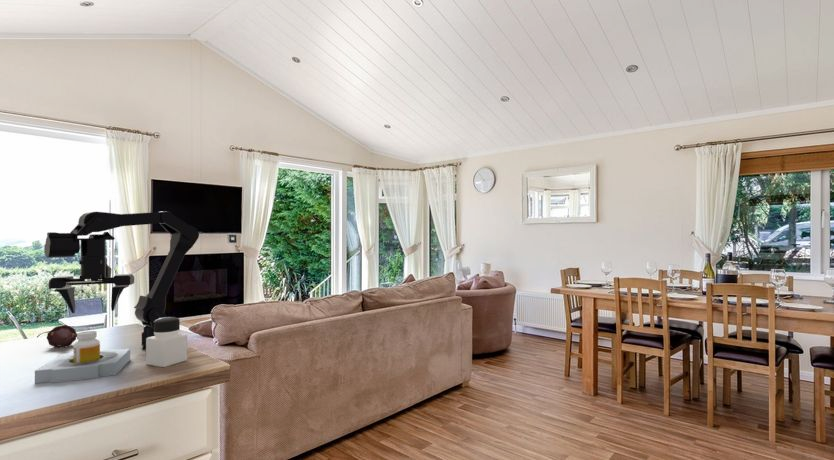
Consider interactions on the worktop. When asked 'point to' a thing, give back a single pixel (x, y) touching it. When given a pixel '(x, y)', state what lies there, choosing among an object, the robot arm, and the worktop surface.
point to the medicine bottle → (166, 343)
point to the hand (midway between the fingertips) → (93, 311)
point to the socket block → (82, 367)
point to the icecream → (61, 336)
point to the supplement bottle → (86, 347)
